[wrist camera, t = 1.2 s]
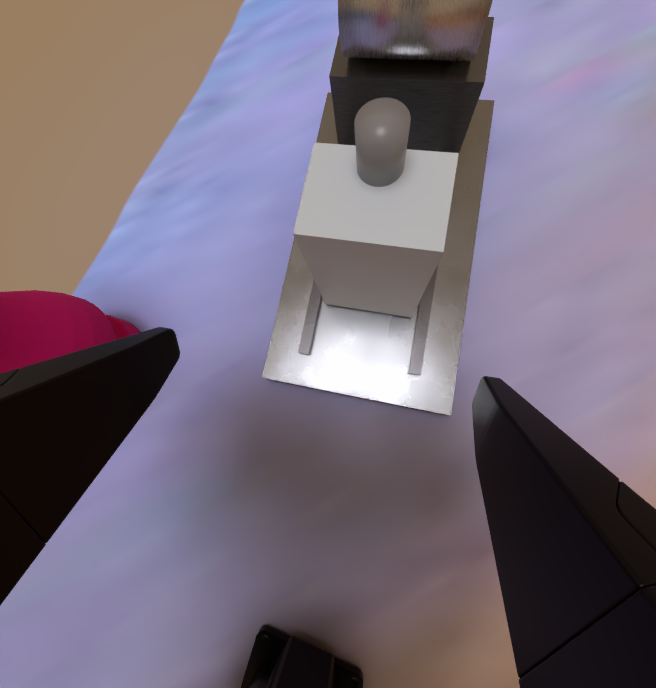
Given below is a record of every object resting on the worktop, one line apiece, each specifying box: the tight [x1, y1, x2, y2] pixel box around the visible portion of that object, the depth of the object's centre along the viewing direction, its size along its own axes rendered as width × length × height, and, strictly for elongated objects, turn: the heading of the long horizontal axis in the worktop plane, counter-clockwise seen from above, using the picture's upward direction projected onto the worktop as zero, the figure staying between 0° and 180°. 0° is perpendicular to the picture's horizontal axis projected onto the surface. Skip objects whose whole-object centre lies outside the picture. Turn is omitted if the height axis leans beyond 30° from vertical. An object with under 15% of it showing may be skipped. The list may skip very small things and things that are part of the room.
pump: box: [293, 98, 459, 318], centre depth 16 cm, size 4×6×11 cm
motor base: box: [262, 0, 494, 415], centre depth 17 cm, size 22×12×12 cm, turn 169°
